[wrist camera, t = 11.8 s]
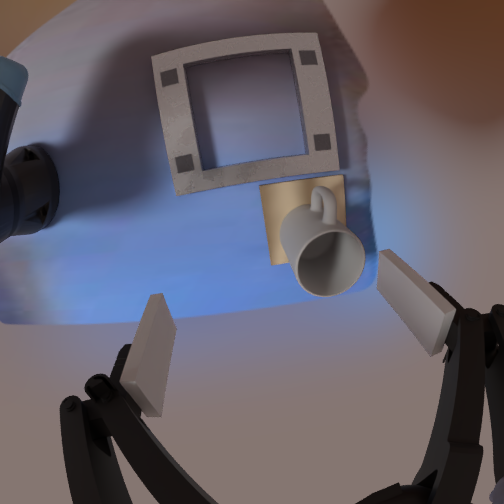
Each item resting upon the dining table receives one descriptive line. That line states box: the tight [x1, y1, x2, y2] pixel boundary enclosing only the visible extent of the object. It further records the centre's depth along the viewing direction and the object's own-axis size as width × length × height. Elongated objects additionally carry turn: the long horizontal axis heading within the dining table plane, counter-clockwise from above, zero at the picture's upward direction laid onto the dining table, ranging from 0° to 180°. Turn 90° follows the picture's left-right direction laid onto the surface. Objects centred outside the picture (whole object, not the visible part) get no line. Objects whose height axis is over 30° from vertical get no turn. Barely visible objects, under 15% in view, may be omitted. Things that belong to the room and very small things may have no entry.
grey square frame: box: [151, 33, 340, 196], centre depth 31 cm, size 22×20×2 cm
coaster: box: [259, 174, 346, 265], centre depth 39 cm, size 12×12×1 cm
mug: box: [279, 186, 365, 297], centre depth 33 cm, size 12×8×11 cm
